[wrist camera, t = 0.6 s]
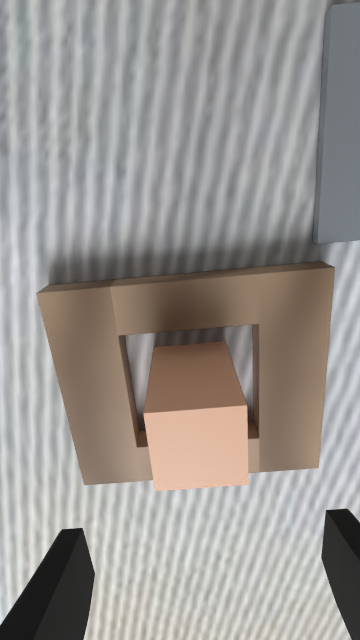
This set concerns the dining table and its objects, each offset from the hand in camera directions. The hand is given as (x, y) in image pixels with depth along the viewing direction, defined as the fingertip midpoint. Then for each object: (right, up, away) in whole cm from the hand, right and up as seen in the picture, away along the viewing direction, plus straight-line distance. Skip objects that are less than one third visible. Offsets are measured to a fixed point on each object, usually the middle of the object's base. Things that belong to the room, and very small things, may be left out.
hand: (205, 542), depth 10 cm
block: (0, +3, +9) cm, 10 cm away
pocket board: (0, +3, +9) cm, 10 cm away
